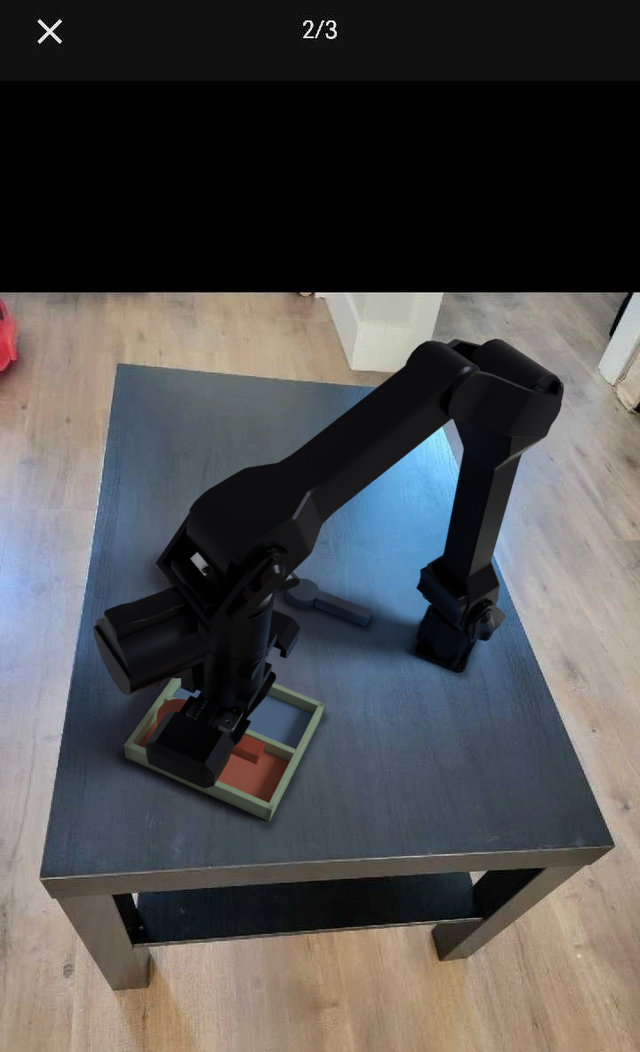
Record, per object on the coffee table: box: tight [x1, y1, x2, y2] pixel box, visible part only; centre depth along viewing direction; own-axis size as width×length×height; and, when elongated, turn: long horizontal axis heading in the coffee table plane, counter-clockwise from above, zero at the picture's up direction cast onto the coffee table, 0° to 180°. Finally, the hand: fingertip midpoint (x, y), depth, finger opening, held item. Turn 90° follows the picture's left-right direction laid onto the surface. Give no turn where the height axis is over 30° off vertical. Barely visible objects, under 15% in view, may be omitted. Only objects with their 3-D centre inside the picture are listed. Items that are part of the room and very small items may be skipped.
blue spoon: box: [286, 577, 372, 627], centre depth 86 cm, size 11×4×2 cm, turn 68°
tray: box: [123, 678, 325, 822], centre depth 72 cm, size 16×14×2 cm
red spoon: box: [157, 699, 265, 765], centre depth 67 cm, size 11×4×2 cm, turn 68°
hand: (224, 737), depth 66 cm, fingers closed on red spoon, 2 cm apart
